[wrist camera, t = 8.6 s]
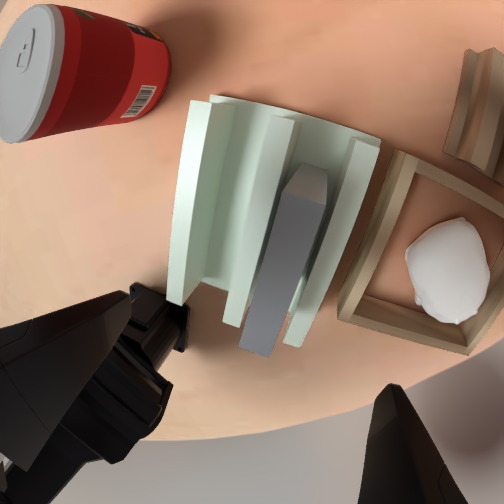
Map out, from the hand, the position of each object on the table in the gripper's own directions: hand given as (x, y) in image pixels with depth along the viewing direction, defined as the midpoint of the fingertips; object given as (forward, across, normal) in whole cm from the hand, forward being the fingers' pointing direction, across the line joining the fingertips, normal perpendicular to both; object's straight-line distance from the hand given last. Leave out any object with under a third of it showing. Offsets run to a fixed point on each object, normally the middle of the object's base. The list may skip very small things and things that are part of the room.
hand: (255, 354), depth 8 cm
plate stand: (+13, -11, -12) cm, 20 cm away
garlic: (+13, -12, 0) cm, 18 cm away
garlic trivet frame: (+13, -11, -1) cm, 17 cm away
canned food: (+13, +15, -8) cm, 21 cm away
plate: (+12, 0, 0) cm, 12 cm away
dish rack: (+13, +2, 0) cm, 13 cm away
